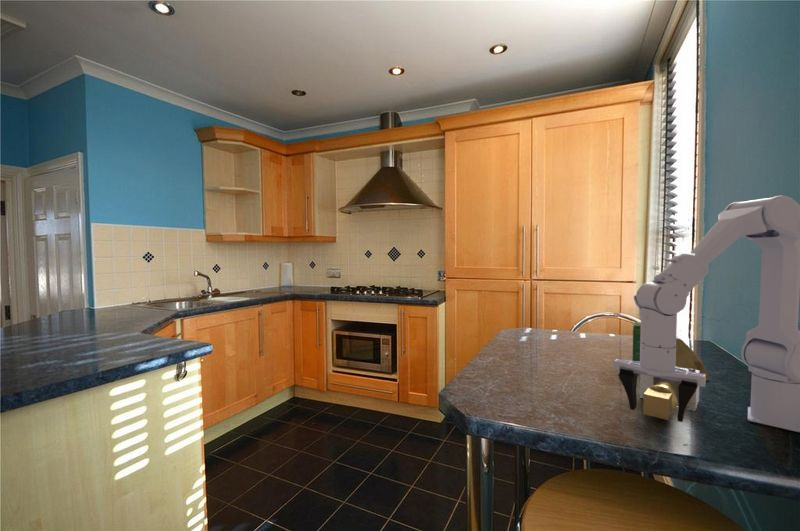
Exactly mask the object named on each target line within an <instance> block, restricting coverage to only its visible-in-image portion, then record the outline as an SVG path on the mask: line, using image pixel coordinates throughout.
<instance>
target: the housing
mask: <svg viewBox="0 0 800 531" xmlns="http://www.w3.org/2000/svg"><path fill="white" fill-rule="evenodd" d="M676 368H680V369H684V370H688V371H692V372H696V373H700V371H699V370H695V369H692V368H689V369H687V368H681V367H676ZM639 375H640V376H639V377H640V378H639V379H640V380H639V399H640V398H643V396H644V392H645V391H646V389H647V388H648V387H650V386H653V385H656V384H657V383H658V382H661V381H666V382H669V383H671V384H672V385H674V386H675V388H676V390H677V396H676V397H677V401H678V403H677V406H678V407H677V408H679V390H678V386H679V384H680V383H681V382H679V381H674V380H669V379H664V378H658V377H653V376H648V375H643V374H639ZM642 400H644V398H643V399H642ZM698 402H700V386H698V387H697V389H696V391H695V393H694V394H693V396H692V397H691V399H690V401H689V402H688V404H687V406H686V409H685V410H689V411H693V412H696V410H697V408H698V406H697V405H699V403H698Z"/></svg>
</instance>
